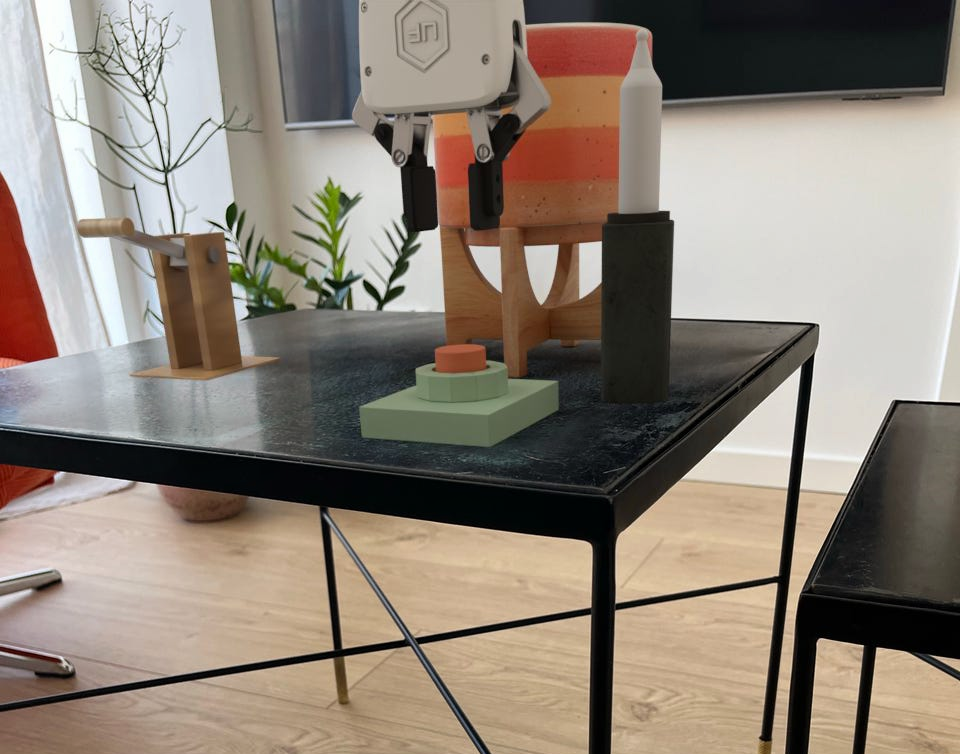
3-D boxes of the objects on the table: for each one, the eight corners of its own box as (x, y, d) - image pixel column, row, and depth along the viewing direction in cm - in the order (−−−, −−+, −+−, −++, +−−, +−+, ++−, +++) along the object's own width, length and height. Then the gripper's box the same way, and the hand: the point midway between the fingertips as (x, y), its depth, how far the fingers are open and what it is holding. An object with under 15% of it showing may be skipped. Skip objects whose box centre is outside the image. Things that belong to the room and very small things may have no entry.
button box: (489, 447, 67) (487, 386, 65) (361, 438, 71) (356, 380, 69) (558, 410, 77) (558, 356, 75) (442, 403, 81) (439, 352, 79)
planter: (623, 381, 86) (627, 12, 75) (409, 376, 93) (384, 37, 81) (667, 344, 103) (677, 39, 92) (484, 342, 109) (472, 58, 98)
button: (472, 379, 70) (471, 353, 69) (427, 376, 72) (425, 351, 71) (494, 369, 73) (494, 344, 72) (450, 368, 75) (449, 343, 74)
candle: (605, 390, 82) (608, 36, 72) (669, 390, 81) (681, 30, 71) (599, 403, 78) (601, 27, 68) (666, 403, 77) (678, 21, 67)
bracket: (207, 391, 90) (183, 237, 85) (131, 387, 94) (104, 239, 89) (281, 370, 99) (264, 229, 94) (209, 366, 103) (189, 231, 98)
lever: (121, 240, 82) (122, 209, 81) (76, 241, 84) (76, 210, 83) (221, 272, 92) (222, 244, 92) (179, 272, 94) (179, 245, 94)
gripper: (286, -89, 61) (319, 236, 69) (541, -137, 54) (547, 231, 62) (353, -67, 67) (377, 229, 75) (591, -108, 60) (590, 224, 68)
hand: (453, 226), depth 68 cm, fingers open, 4 cm apart
